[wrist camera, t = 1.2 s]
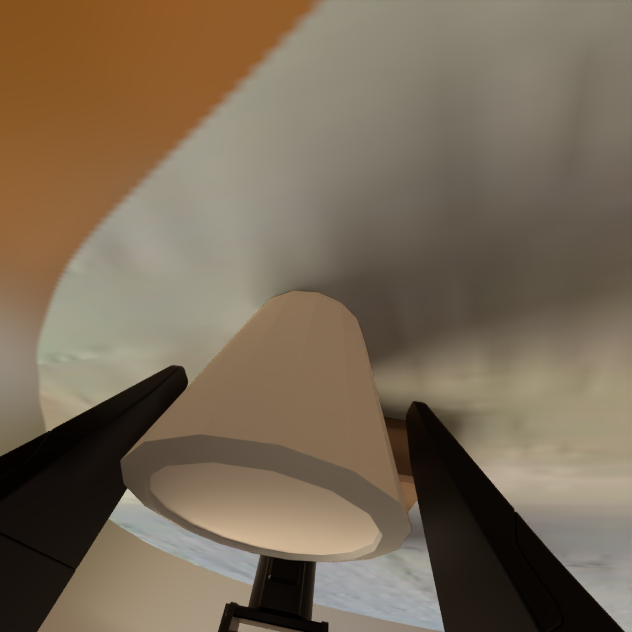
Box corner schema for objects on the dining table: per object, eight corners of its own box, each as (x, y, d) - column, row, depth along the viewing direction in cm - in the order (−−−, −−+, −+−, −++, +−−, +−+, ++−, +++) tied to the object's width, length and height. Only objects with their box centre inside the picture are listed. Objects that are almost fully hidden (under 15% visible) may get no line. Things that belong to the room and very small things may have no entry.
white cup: (218, 286, 10) (39, 439, 4) (373, 266, 9) (423, 446, 3) (262, 390, 14) (198, 552, 8) (379, 386, 12) (409, 580, 6)
